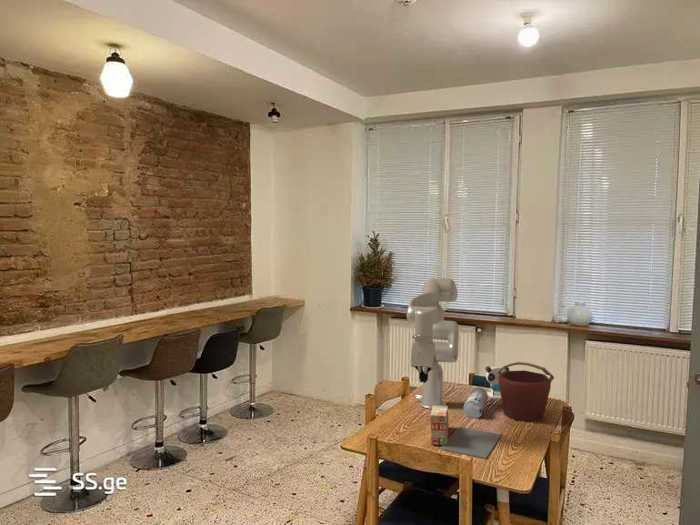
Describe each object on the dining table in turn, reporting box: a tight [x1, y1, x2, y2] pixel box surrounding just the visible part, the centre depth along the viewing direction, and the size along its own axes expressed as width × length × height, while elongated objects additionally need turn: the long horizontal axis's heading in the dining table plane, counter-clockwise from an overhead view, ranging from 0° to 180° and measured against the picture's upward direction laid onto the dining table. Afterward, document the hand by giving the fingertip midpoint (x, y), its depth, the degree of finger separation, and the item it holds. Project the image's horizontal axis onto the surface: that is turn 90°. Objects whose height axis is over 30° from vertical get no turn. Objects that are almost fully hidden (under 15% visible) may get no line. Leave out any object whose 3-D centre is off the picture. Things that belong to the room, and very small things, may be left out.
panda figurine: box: [484, 365, 510, 399], centre depth 273 cm, size 12×11×15 cm
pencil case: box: [463, 387, 489, 419], centre depth 248 cm, size 21×9×10 cm, turn 158°
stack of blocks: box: [430, 405, 450, 446], centre depth 218 cm, size 21×6×12 cm, turn 168°
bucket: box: [498, 361, 555, 423], centre depth 241 cm, size 24×22×25 cm
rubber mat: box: [439, 426, 502, 460], centre depth 212 cm, size 18×26×1 cm
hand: (423, 381), depth 221 cm, fingers closed
